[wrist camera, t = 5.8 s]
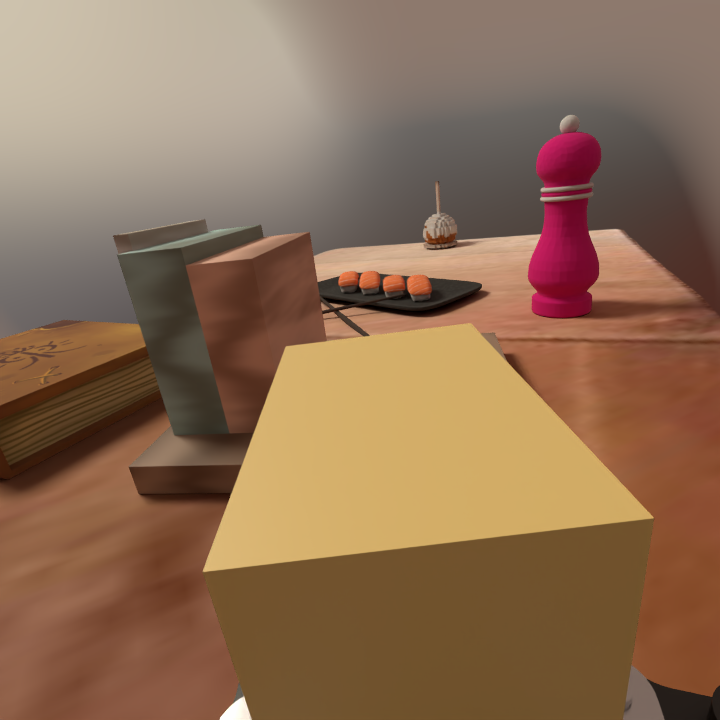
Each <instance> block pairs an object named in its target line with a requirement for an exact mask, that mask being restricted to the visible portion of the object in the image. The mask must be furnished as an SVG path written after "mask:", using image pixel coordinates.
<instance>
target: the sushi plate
mask: <svg viewBox="0 0 720 720" xmlns="http://www.w3.org/2000/svg"><path fill="white" fill-rule="evenodd" d="M317 283H318V289H319V295H320V300H321V301H323V302H324V303H325V304H326V305H327V306H328V307H329V308H330V309H328V310H324V311H322V314H325V313H330V312H335V313H336V314H337V315H338V316H339V317H340V318H341V319H342V320H343V321H344V322H345V323H346V324H347V325H349V326H350V327H351V328H353V329H354V330H356V331H357V332H358V333H360V334H361V335H363V336H364V337H365V336H370V335H368V334H367V333H366V332H365V331H363V330H362V329H361V328H360V327H358V326H357V325H356V324H355V323H353V322H352V321H351V320H350V319H348V318H347V317H346V316H344V315H343V314H342V313H341V312H339V310H343V309H348V308H352V307H357V306H361V305H366V304H368V305H374V306H381V307H387V308H394V309H401V310H411V311H422V310H429V309H433V308H436V307H440V306H442V305H445V304H448V303H450V302H453V301H455V300H458V299H460V298H463V297H465V296H468V295H470V294H472V293H475V292H477V291H478V290H480V289H481V288H482V284H480V283H476V282H469V281H459V280H447V279H435V278H428V277H427V276H425V275H413V276H400V275H386V274H379V273H378V272H376V271H368V272H364V273H357V272H353V271H350V272H345V273H343V274H341V275H340V276H339V277H335V278H331V279H328V280H324V281H321V282H317ZM322 297H324V298H330V299H336V300H343V301H349V302H355V303H357V304H352V305H347V306H343V307H338V308H334V307H333V306H332V305H330V304H329V303H328V302H327V301H326V300H324V299H323V298H322Z"/></svg>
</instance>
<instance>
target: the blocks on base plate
mask: <svg viewBox="0 0 720 720" xmlns="http://www.w3.org/2000/svg"><path fill="white" fill-rule="evenodd" d="M113 237H114V240H115V243H116V247H117V250H118V253H119V254H118V255H117V256H118V259H119V263H120V266H121V268H122V272H123V275H124V278H125V281H126V285H127V288H128V291H129V294H130V297H131V300H132V303H133V307H134V310H135V313H136V316H137V319H138V322H139V326H140V329H141V332H142V335H143V338H144V342H145V345H146V348H147V351H148V354H149V357H150V360H151V364H152V367H153V370H154V373H155V376H156V379H157V383H158V386H159V389H160V392H161V395H162V398H163V402H164V405H165V408H166V411H167V414H168V417H169V421H170V424H171V426H170V427H169V428H168V429H167V430H166V431H165V432H164V433H163V434H162V435H161V436H160V437H159V438H158V439H157V440H156V441H155V442H154V443H153V444H152V445H151V446H150V447H149V448H147V449H146V450H145V451H144V452H143V453H142V454H141V455H140V456H139V457H138V458H137V459H136V460H135V461H134V462H133V463H132V464H131V465H130V466H129V469H130V472H131V474H132V477H133V480H134V483H135V485H136V488H137V491H138V493H139V494H175V493H232V491H233V488H234V485H235V483H236V480H237V477H238V475H239V472H240V469H241V467H242V464H243V461H244V458H245V456H246V453H247V450H248V448H249V445H250V442H251V439H252V437H253V434H254V431H255V429H256V426H257V423H258V420H259V418H260V415H261V412H262V410H263V407H264V404H265V401H266V399H267V396H268V393H269V391H270V388H271V385H272V382H273V380H274V377H275V374H276V372H277V369H278V366H279V363H280V361H281V358H282V355H283V353H284V350H285V347H286V346H293V345H301V344H309V343H317V342H325V341H327V340H326V334H325V327H324V321H323V314H322V308H321V302H320V295H319V289H318V283H317V276H316V270H315V263H314V257H313V251H312V245H311V239H310V232H305V233H296V234H288V235H279V236H270V237H263V232H262V227H261V225H256V226H247V227H239V228H231V229H221V230H215V231H211V232H208V229H207V225H206V221H205V219H204V220H195V221H190V222H184V223H179V224H173V225H168V226H162V227H157V228H152V229H147V230H141V231H136V232H130V233H124V234H119V235H114V236H113ZM480 334H481V335H482V336H483V337H484V338H485V339H486V340H487V341H488V342H489V343H490V344H491V345H492V346H493V348H494V349H495V350H496V351H497V352H498V353H499V354H500V355H501V356H502V357H503V358H504V359H505V360H506V358H505V356H504V354H503V351H502V349H501V347H500V344H499V342H498V340H497V337H496V335H495V333H480ZM506 361H507V360H506Z"/></svg>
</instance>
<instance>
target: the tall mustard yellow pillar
mask: <svg viewBox="0 0 720 720" xmlns="http://www.w3.org/2000/svg"><path fill="white" fill-rule="evenodd" d="M653 522H654V518H653V516H652V515H651V514H650V513H649V512H648V511H647V510H646V509H645V508H644V507H643V506H642V505H641V504H640V503H639V502H638V501H637V499H636V498H635V497H634V496H633V495H632V494H631V493H630V492H629V491H628V490H627V489H626V488H625V487H624V486H623V485H622V484H621V482H620V481H619V480H618V479H617V478H616V477H615V476H614V475H613V474H612V473H611V472H610V471H609V470H608V469H607V468H606V467H605V465H604V464H603V463H602V462H601V461H600V460H599V459H598V458H597V457H596V456H595V455H594V454H593V453H592V452H591V451H590V450H589V448H588V447H587V446H586V445H585V444H584V443H583V442H582V441H581V440H580V439H579V438H578V437H577V436H576V435H575V434H574V433H573V431H572V430H571V429H570V428H569V427H568V426H567V425H566V424H565V423H564V422H563V421H562V420H561V419H560V418H559V417H558V416H557V414H556V413H555V412H554V411H553V410H552V409H551V408H550V407H549V406H548V405H547V404H546V403H545V402H544V401H543V400H542V399H541V397H540V396H539V395H538V394H537V393H536V392H535V391H534V390H533V389H532V388H531V387H530V386H529V385H528V384H527V383H526V382H525V380H524V379H523V378H522V377H521V376H520V375H519V374H518V373H517V372H516V371H515V370H514V369H513V368H512V367H511V366H510V365H509V363H508V362H507V361H506V360H505V359H504V358H503V357H502V356H501V355H500V354H499V353H498V352H497V351H496V350H495V349H494V348H493V346H492V345H491V344H490V343H489V342H488V341H487V340H486V339H485V338H484V337H483V336H482V335H481V334H480V333H479V332H478V331H477V329H476V328H475V327H474V326H473V325H472V324H471V323H469V324H461V325H453V326H445V327H437V328H429V329H421V330H413V331H405V332H397V333H389V334H381V335H373V336H365V337H357V338H349V339H341V340H333V341H325V342H317V343H309V344H301V345H293V346H286V347H285V350H284V353H283V355H282V358H281V361H280V363H279V366H278V369H277V372H276V374H275V377H274V380H273V382H272V385H271V388H270V391H269V393H268V396H267V399H266V401H265V404H264V407H263V410H262V412H261V415H260V418H259V420H258V423H257V426H256V429H255V431H254V434H253V437H252V439H251V442H250V445H249V448H248V450H247V453H246V456H245V458H244V461H243V464H242V467H241V469H240V472H239V475H238V477H237V480H236V483H235V485H234V488H233V491H232V494H231V496H230V499H229V502H228V504H227V507H226V510H225V513H224V515H223V518H222V521H221V523H220V526H219V529H218V532H217V534H216V537H215V540H214V542H213V545H212V548H211V551H210V553H209V556H208V559H207V561H206V564H205V567H204V570H203V575H204V578H205V581H206V584H207V587H208V590H209V593H210V596H211V599H212V602H213V605H214V608H215V611H216V614H217V617H218V620H219V623H220V626H221V629H222V632H223V635H224V638H225V641H226V644H227V647H228V650H229V653H230V656H231V659H232V662H233V665H234V668H235V671H236V674H237V677H238V680H239V683H240V686H241V689H242V692H243V695H244V698H245V701H246V704H247V707H248V710H249V713H250V716H251V719H252V720H623V716H624V709H625V703H626V696H627V690H628V683H629V677H630V671H631V664H632V658H633V651H634V645H635V638H636V632H637V625H638V619H639V612H640V606H641V599H642V593H643V587H644V580H645V574H646V567H647V561H648V554H649V548H650V541H651V535H652V528H653Z"/></svg>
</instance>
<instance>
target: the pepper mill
mask: <svg viewBox="0 0 720 720" xmlns="http://www.w3.org/2000/svg"><path fill="white" fill-rule="evenodd" d="M578 128H579V119H578V118H577V117H576V116H574V115H569V116H567V117H565V118H564V119H563V120H562V121H561V123H560V131H561V132H562V133H563V134H561V135H558V136H556V137H554V138H552V139H551V140H549V141H548V142H547V143H546V144H545V145H544V146H543V147H542V149H541V150H540V152H539V155H538V158H537V164H536V169H537V174H538V176H539V177H540V178H541V180H542V181H543V182H544V184H545V187H544V188H542V189H541V192H542V197H541V199H540V200H541V201H542V202H545V219H544V227H543V230H542V234H541V237H540V239H539V242H538V244H537V246H536V249H535V251H534V253H533V255H532V258H531V261H530V264H529V270H528V280H529V282H530V283H531V285H532V286H533V287H534V288H535V289H536V290H537V293H535V294H534V295H533V296H532V311H533V312H534V313H535V314H537V315H540V316H545V317H552V318H569V317H577V316H582V315H585V314H587V313H589V312H590V311H591V307H592V295H591V294H590V293H589V292H587V290H588V289H589V288H590V287H591V286H592V285H593V284H594V283H595V281H596V280H597V278H598V276H599V262H598V257H597V253H596V251H595V248H594V246H593V244H592V241H591V238H590V235H589V232H588V226H587V205H588V198H589V197H592V196H593V193H592V187H593V186H594V184H593V183H590V182H589V181H590V178H591V177H592V175H593V174H594V173H595V172H596V170H597V169H598V167H599V165H600V161H601V148H600V146H599V143H598V141H597V140H596V139H595V138H594V137H593V136H591V135H589V134H587V133H582V132H576V131H577V129H578Z"/></svg>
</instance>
